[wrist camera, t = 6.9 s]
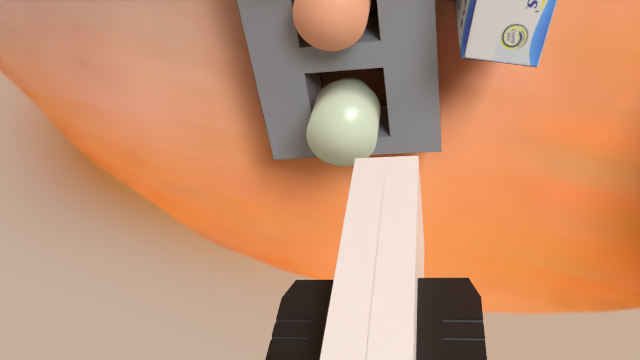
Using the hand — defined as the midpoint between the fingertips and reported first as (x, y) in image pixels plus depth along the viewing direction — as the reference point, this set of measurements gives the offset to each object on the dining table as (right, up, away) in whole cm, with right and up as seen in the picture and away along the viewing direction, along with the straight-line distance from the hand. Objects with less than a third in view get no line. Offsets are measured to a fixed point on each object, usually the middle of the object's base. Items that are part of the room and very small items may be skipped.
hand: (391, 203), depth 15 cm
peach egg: (0, +13, +25) cm, 28 cm away
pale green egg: (0, +6, +27) cm, 28 cm away
